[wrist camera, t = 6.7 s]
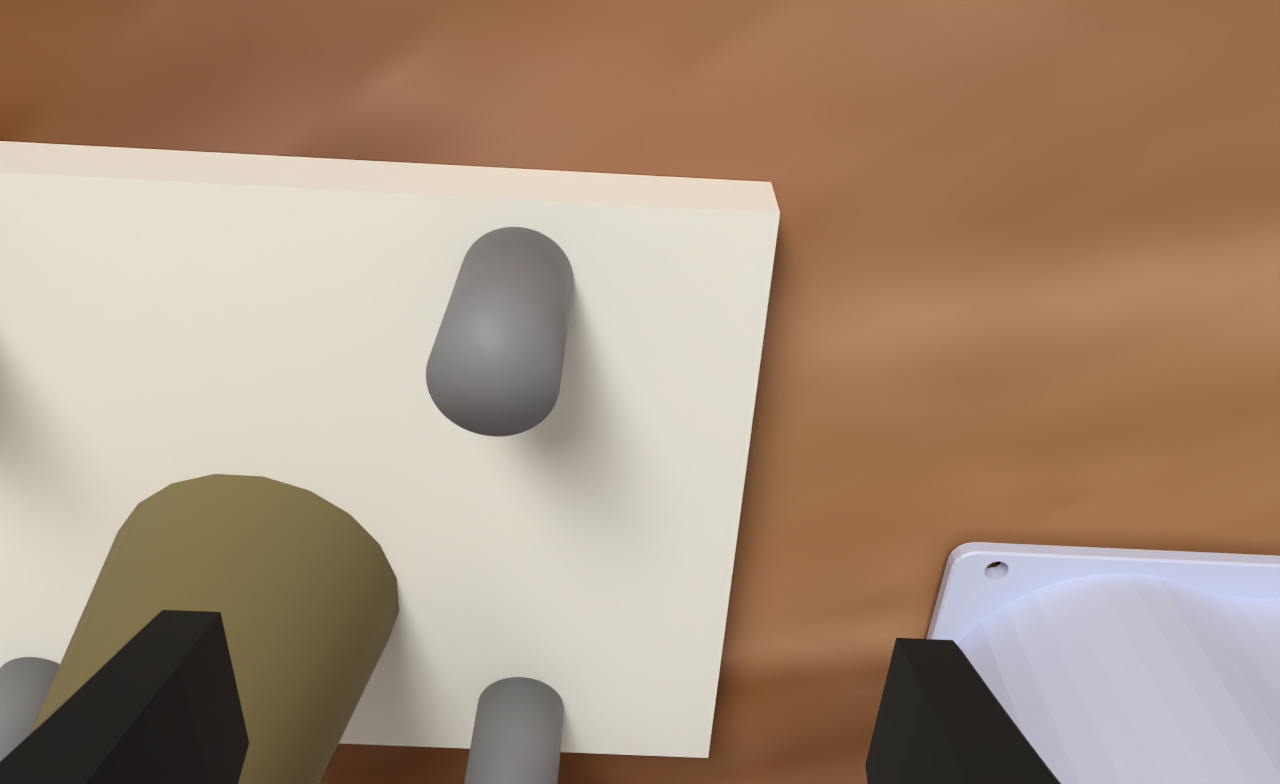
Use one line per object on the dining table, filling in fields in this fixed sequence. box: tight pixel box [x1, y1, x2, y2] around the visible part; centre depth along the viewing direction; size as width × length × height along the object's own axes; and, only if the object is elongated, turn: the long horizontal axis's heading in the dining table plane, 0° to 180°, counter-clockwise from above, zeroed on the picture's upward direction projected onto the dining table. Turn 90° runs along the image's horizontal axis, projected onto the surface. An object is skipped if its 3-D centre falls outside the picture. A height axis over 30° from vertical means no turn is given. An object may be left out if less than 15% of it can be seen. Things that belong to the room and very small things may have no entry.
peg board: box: [0, 141, 780, 784], centre depth 20 cm, size 20×14×5 cm
